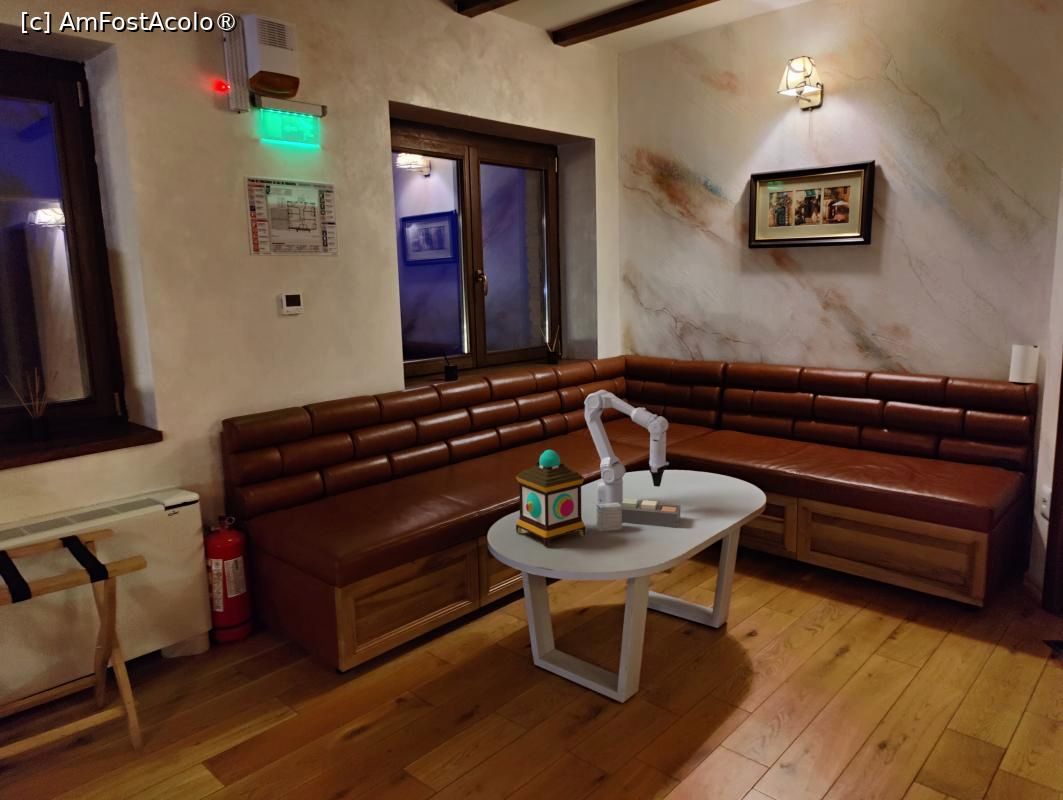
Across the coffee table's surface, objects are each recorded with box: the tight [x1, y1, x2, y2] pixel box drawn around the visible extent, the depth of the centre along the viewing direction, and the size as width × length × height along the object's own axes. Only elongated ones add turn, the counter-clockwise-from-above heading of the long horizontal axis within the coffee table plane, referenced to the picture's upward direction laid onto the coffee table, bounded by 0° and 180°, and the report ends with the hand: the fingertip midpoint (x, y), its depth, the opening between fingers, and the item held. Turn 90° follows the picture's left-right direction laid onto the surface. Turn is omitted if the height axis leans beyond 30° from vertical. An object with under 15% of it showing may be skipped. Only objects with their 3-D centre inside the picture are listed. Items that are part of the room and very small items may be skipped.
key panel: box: [620, 500, 682, 529], centre depth 263 cm, size 21×10×5 cm, turn 72°
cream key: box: [641, 499, 658, 510], centre depth 263 cm, size 5×5×3 cm
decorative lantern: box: [515, 449, 587, 548], centre depth 249 cm, size 20×20×30 cm
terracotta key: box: [661, 506, 677, 512], centre depth 261 cm, size 5×5×3 cm
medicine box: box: [596, 503, 623, 532], centre depth 255 cm, size 8×4×9 cm, turn 102°
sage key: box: [622, 498, 639, 508], centre depth 265 cm, size 5×5×3 cm
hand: (657, 485), depth 271 cm, fingers closed
